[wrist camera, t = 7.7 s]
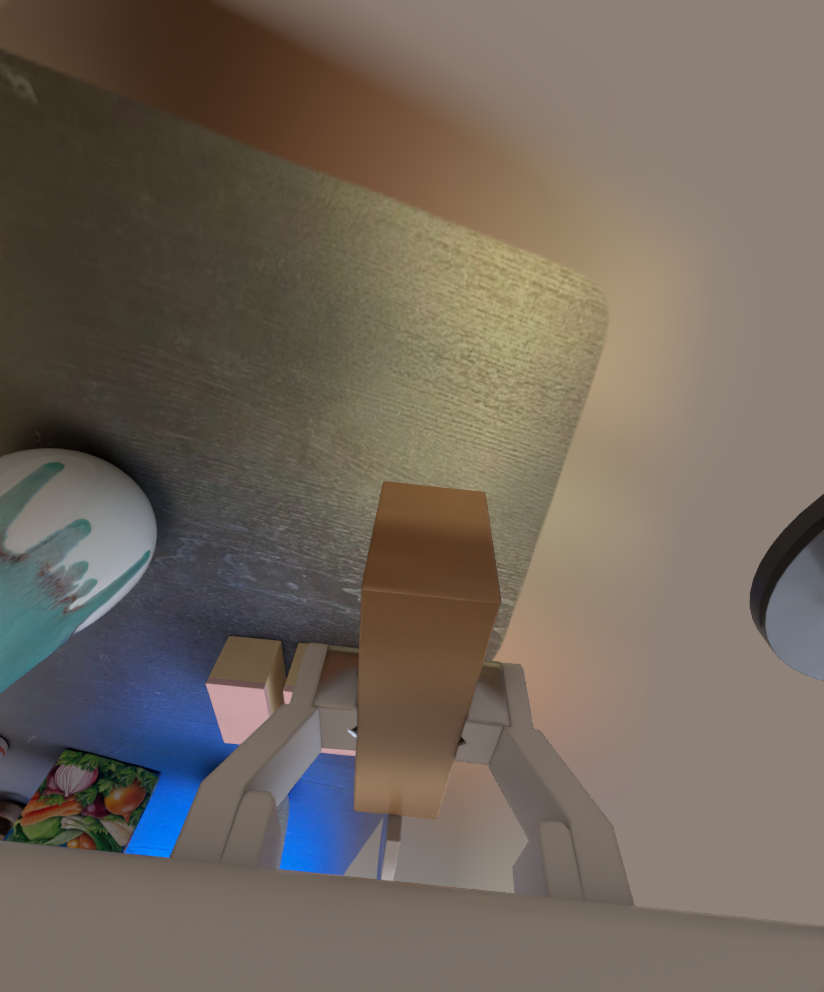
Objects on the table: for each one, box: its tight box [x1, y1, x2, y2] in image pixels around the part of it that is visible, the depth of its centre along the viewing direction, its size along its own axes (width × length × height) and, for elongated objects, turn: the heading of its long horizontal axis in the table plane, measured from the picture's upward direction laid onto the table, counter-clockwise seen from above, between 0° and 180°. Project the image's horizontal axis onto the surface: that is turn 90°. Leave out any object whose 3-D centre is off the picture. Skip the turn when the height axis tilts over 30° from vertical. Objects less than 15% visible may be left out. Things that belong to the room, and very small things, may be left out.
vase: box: [0, 448, 157, 693], centre depth 26 cm, size 12×12×18 cm
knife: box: [354, 482, 501, 881], centre depth 15 cm, size 22×2×4 cm, turn 175°
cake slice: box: [206, 636, 287, 744], centre depth 42 cm, size 5×10×5 cm, turn 175°
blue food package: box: [3, 749, 161, 853], centre depth 49 cm, size 6×12×25 cm, turn 63°
